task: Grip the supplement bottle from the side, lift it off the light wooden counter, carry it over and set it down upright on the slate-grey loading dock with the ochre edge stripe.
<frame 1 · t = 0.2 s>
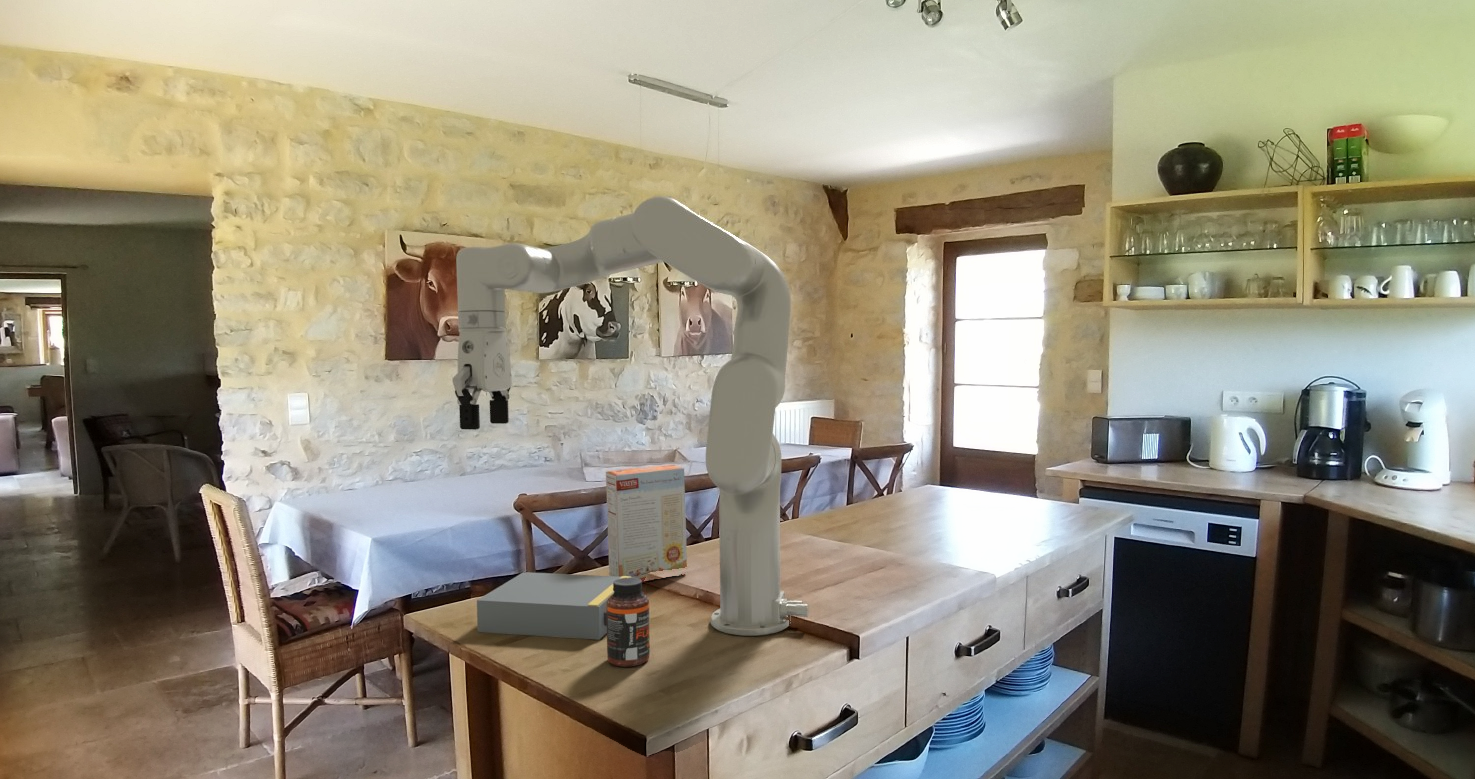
hand: (485, 426, 139), 31 cm above the worktop, tool pointing down, fingers open, 9 cm apart
cracker box: (647, 578, 158), on the worktop
dock: (559, 618, 135), on the worktop
supplement bottle: (628, 661, 117), on the worktop
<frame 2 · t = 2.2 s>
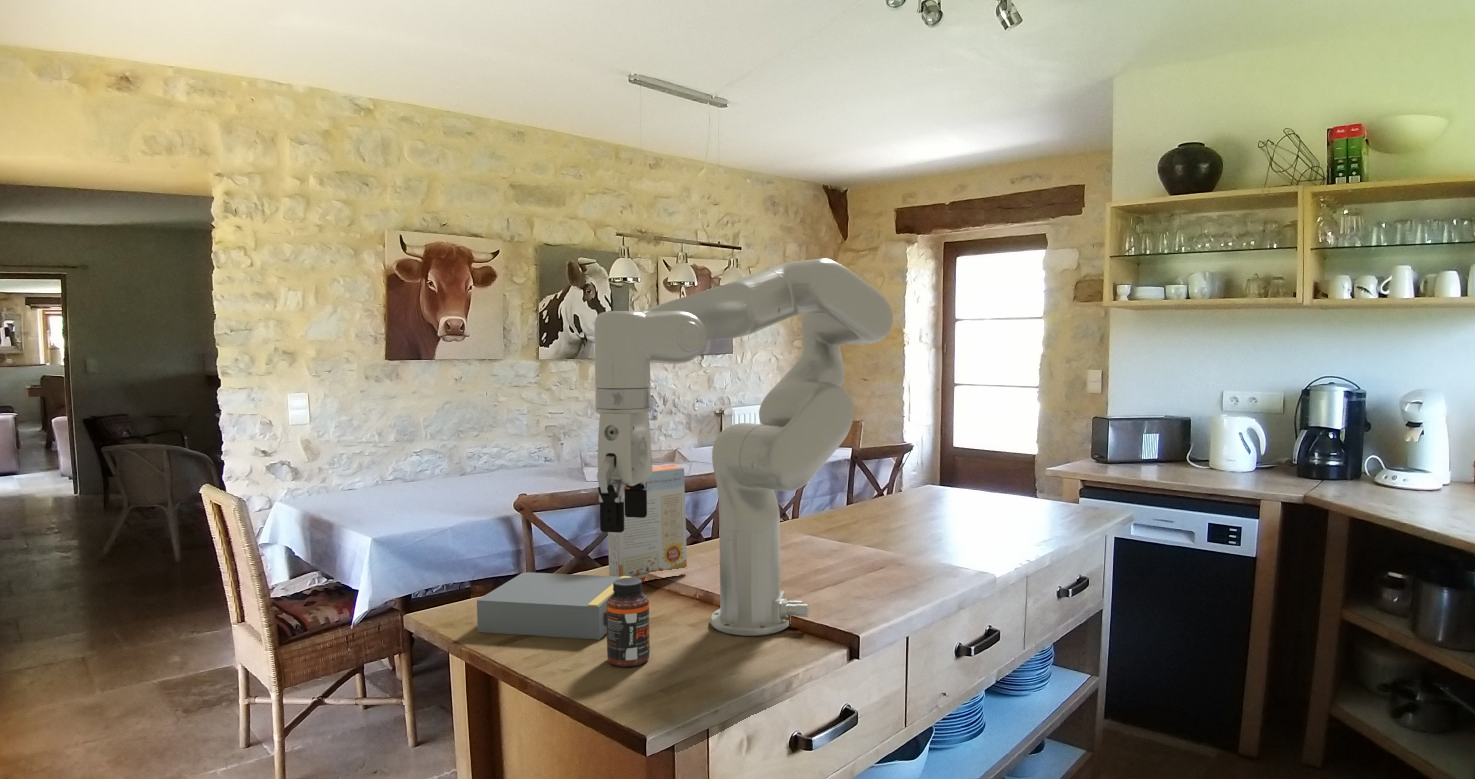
hand: (624, 524, 116), 19 cm above the worktop, tool pointing down, fingers open, 9 cm apart
nothing on the worktop moved.
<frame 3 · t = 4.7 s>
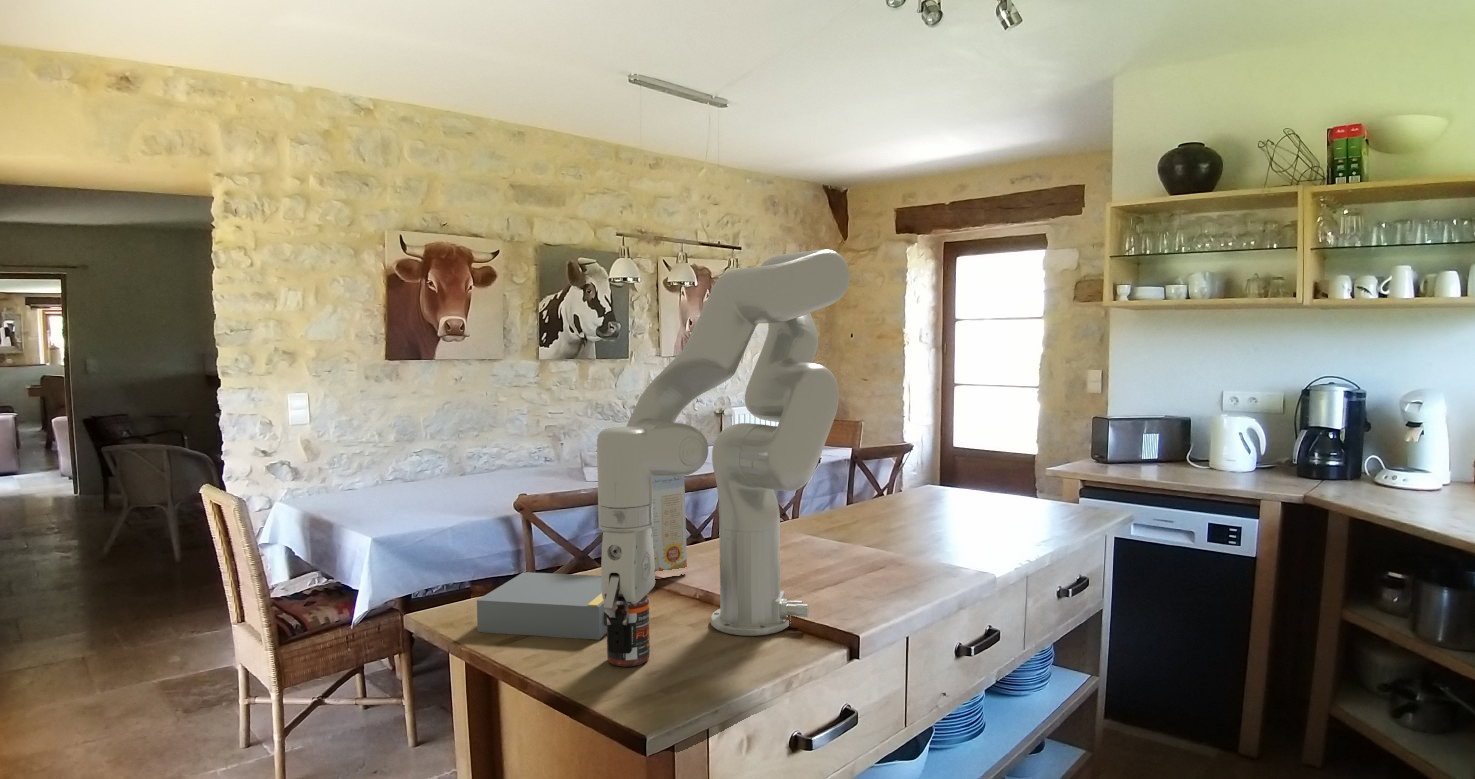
hand: (628, 642, 117), 3 cm above the worktop, tool pointing down, fingers closed on supplement bottle, 6 cm apart
supplement bottle: (628, 661, 117), on the worktop, touching gripper
everything else where it was.
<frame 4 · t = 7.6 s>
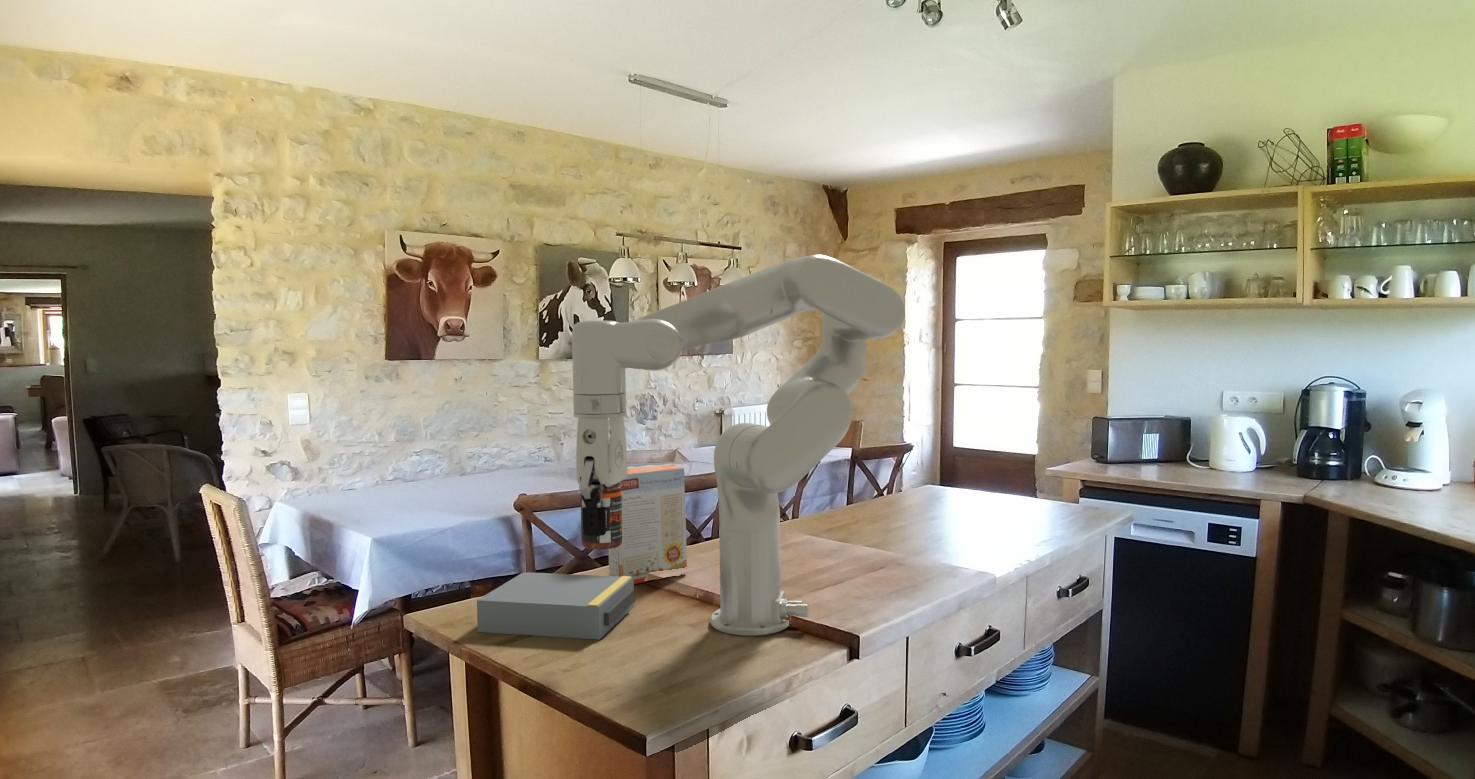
hand: (602, 528, 121), 18 cm above the worktop, tool pointing down, fingers closed on supplement bottle, 5 cm apart
supplement bottle: (602, 547, 122), point 15 cm above the worktop, touching gripper
everything else where it was.
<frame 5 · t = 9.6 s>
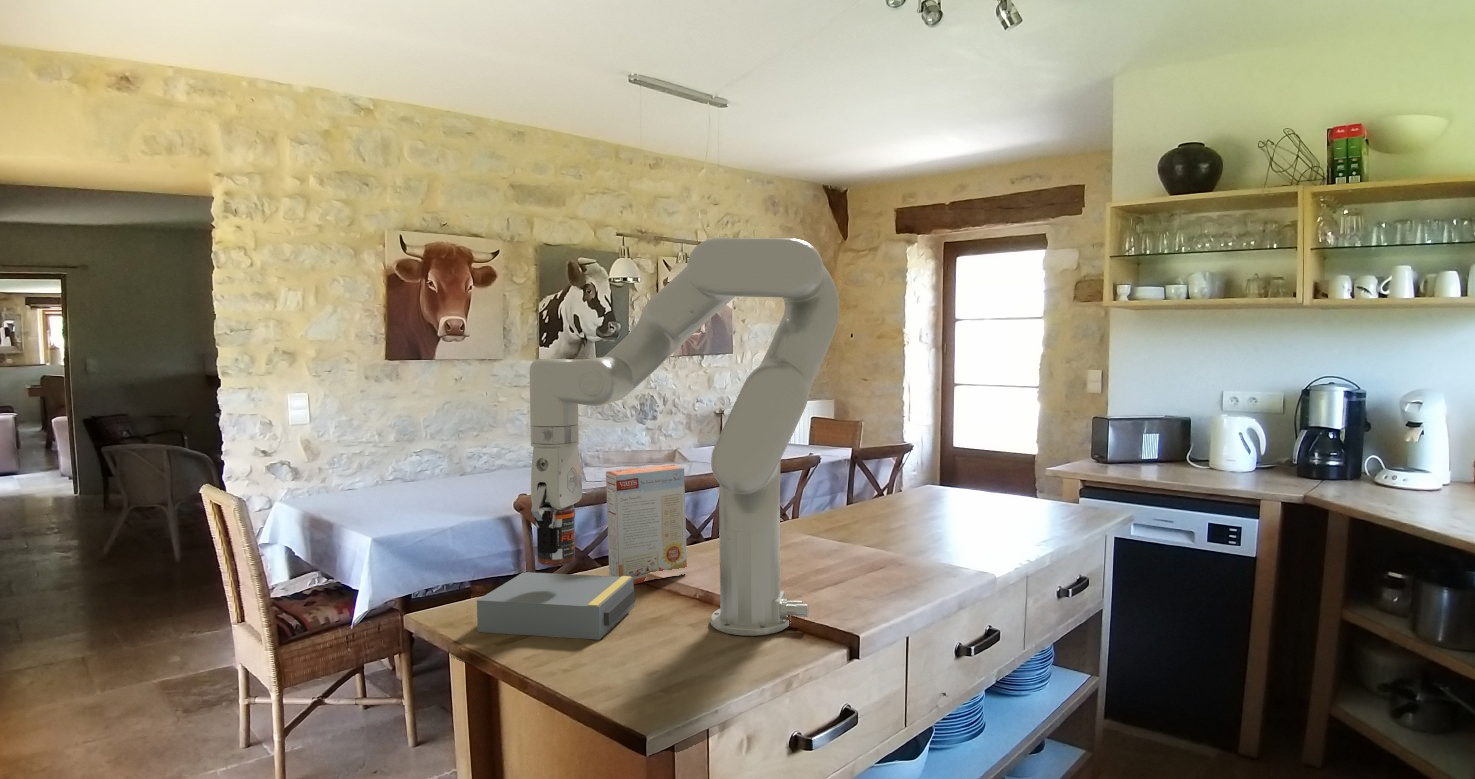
hand: (556, 546, 134), 12 cm above the worktop, tool pointing down, fingers closed on supplement bottle, 5 cm apart
supplement bottle: (556, 563, 135), point 9 cm above the worktop, touching gripper
everything else where it was.
when the fingers open (9 cm above the worktop, at t = 11.0 s): supplement bottle drops 1 cm, resting on dock.
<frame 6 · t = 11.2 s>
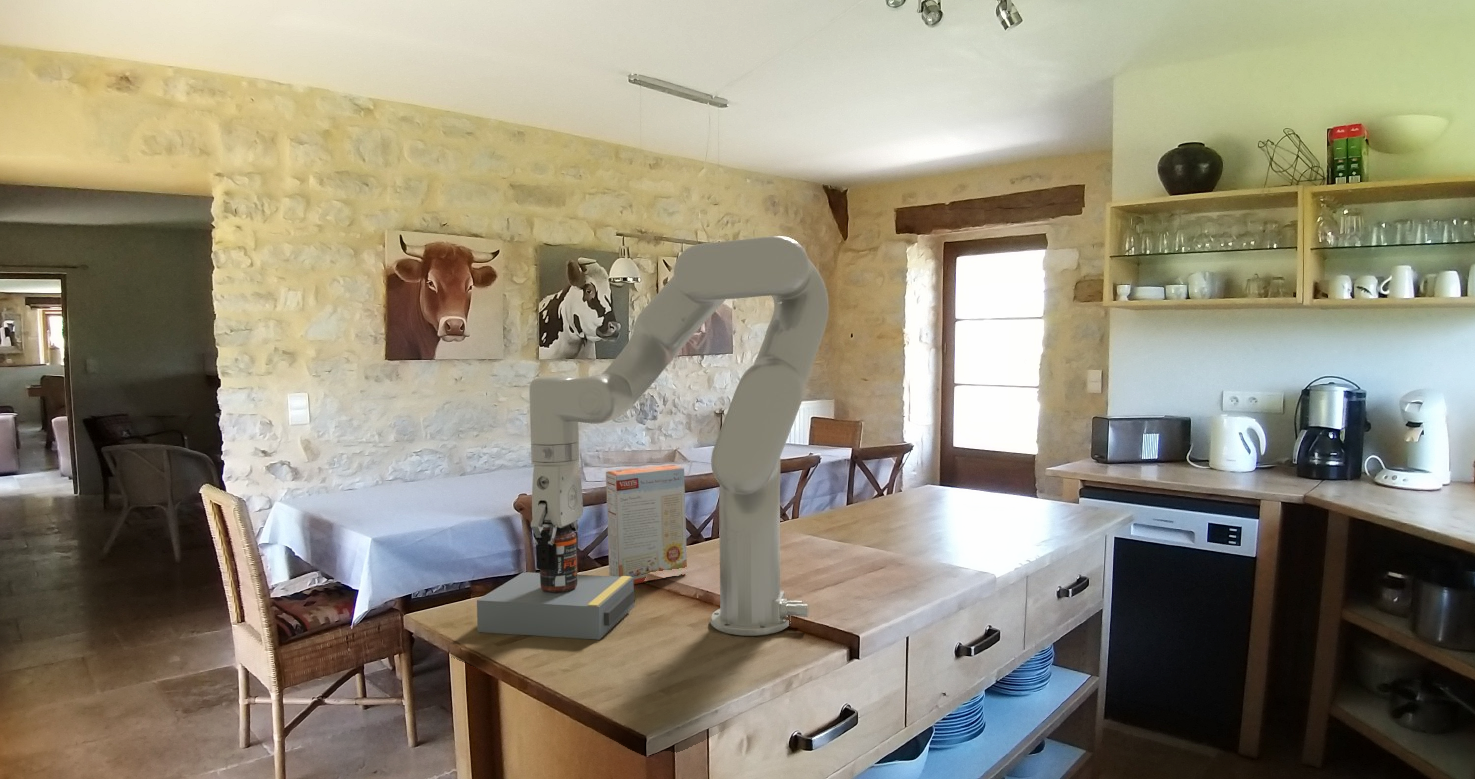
hand: (557, 561, 135), 9 cm above the worktop, tool pointing down, fingers open, 7 cm apart
supplement bottle: (559, 589, 135), point 5 cm above the worktop, touching dock
everything else where it was.
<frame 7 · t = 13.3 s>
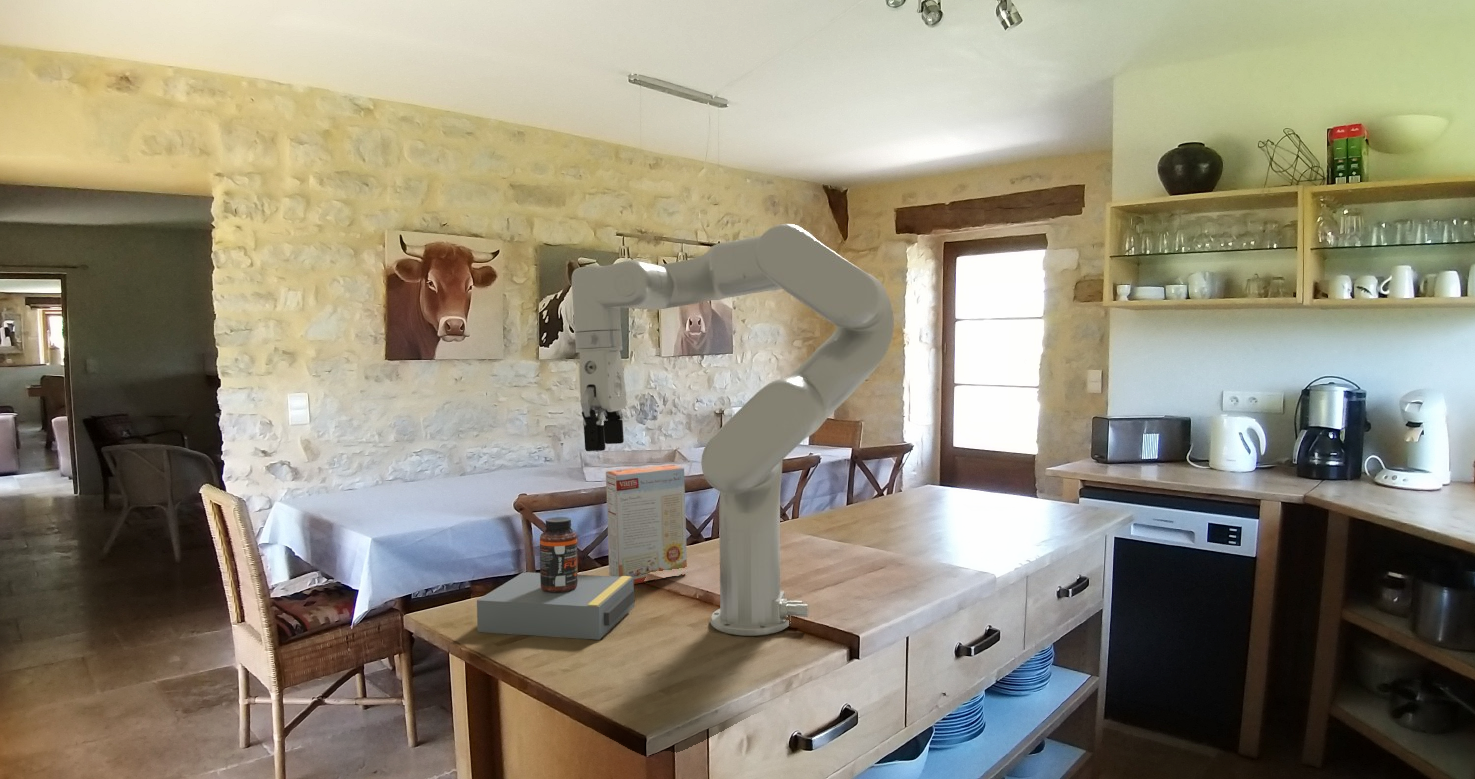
hand: (605, 446, 137), 27 cm above the worktop, tool pointing down, fingers open, 9 cm apart
nothing on the worktop moved.
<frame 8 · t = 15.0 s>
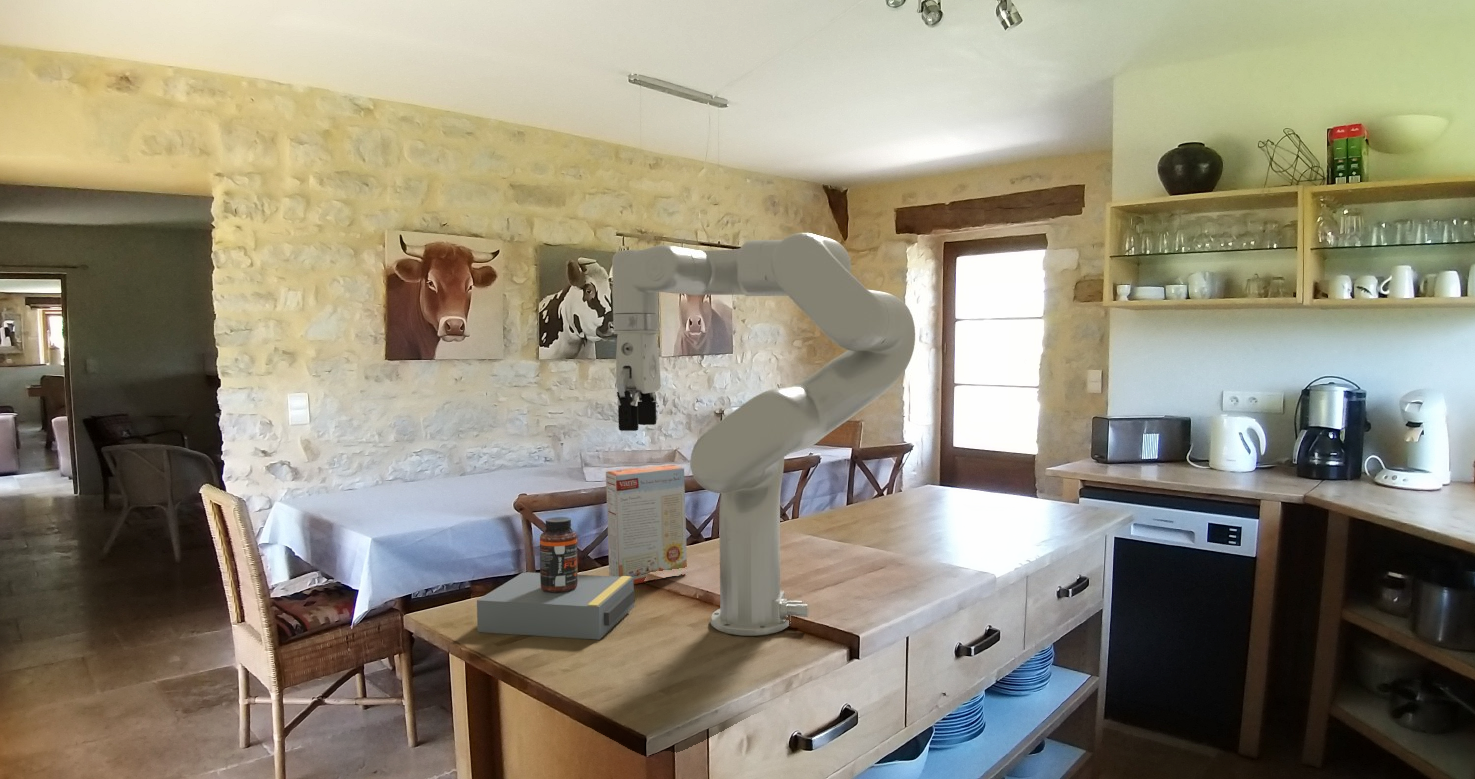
hand: (638, 427, 140), 30 cm above the worktop, tool pointing down, fingers open, 9 cm apart
nothing on the worktop moved.
at the end: supplement bottle inside the target area on the dock (0.1 cm from its centre), point 4.8 cm above the dock's base; supplement bottle tilted 0°; the gripper is holding nothing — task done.
